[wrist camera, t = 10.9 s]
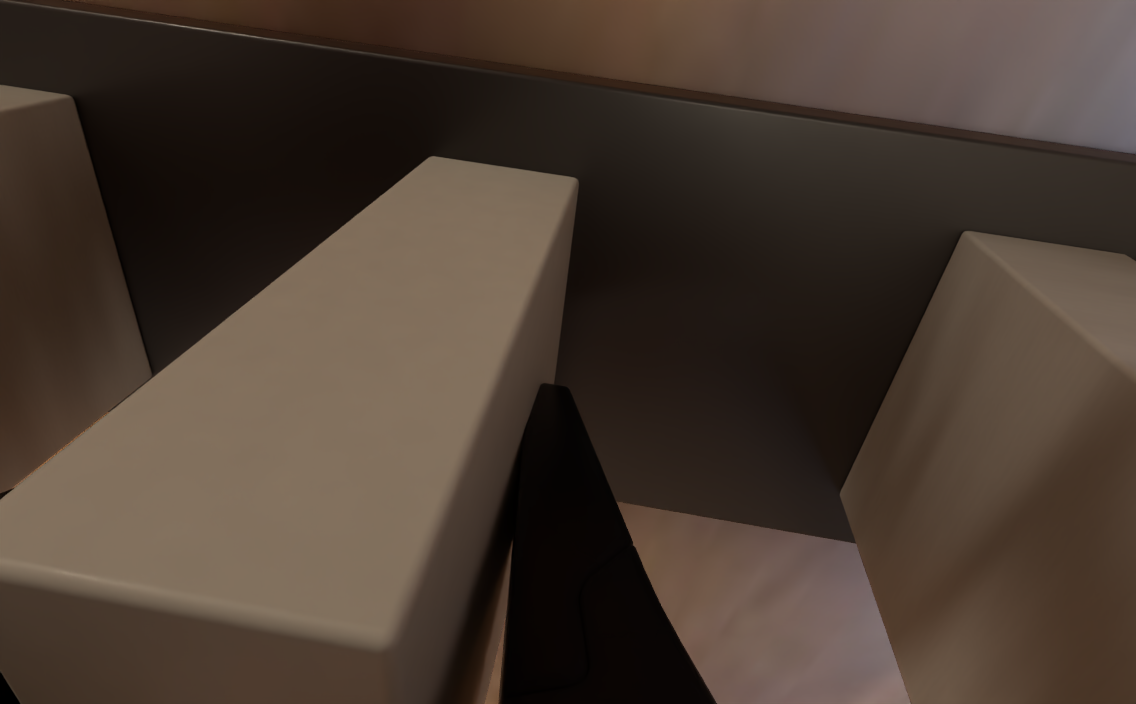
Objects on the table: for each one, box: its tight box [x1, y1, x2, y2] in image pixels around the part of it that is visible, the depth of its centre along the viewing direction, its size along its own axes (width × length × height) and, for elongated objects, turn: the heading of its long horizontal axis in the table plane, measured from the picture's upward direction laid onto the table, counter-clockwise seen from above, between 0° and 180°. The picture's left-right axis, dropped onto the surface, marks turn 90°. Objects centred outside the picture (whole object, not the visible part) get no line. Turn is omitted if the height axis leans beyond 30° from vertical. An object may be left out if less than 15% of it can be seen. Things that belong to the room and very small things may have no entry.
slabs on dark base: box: [0, 0, 1136, 704], centre depth 8 cm, size 8×26×9 cm, turn 83°
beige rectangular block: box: [0, 156, 579, 704], centre depth 8 cm, size 6×2×8 cm, turn 173°
